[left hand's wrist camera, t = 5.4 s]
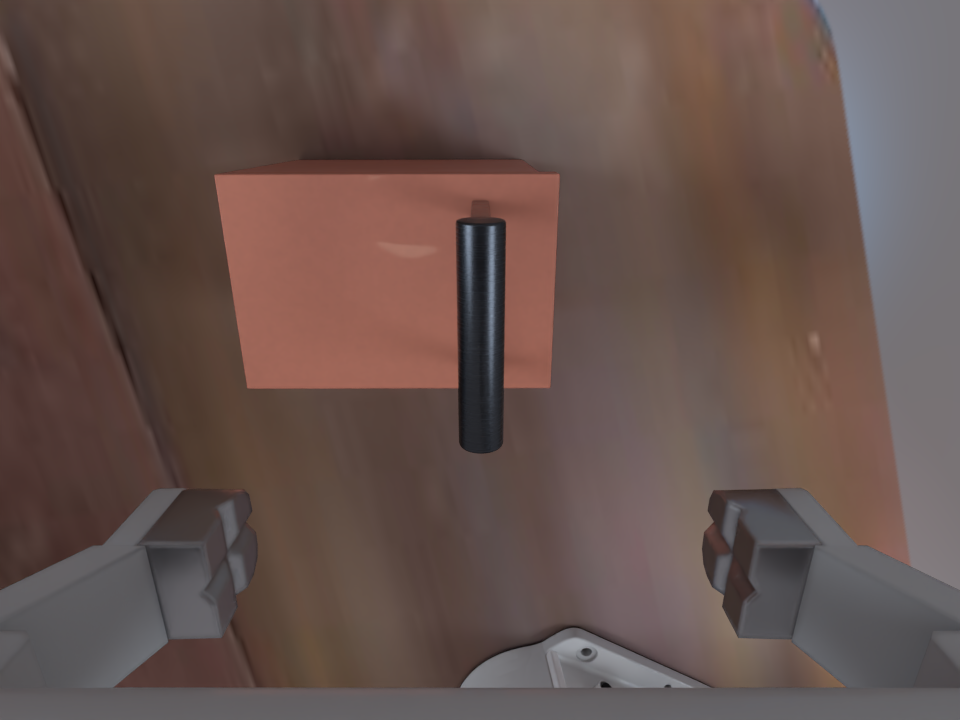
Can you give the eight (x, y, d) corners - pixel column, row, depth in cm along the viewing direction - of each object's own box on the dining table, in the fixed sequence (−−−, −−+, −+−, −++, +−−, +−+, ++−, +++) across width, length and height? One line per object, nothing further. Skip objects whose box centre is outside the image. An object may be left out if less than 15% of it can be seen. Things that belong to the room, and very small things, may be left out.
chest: (522, 159, 35) (539, 171, 25) (518, 313, 39) (532, 377, 29) (297, 159, 35) (226, 172, 25) (314, 313, 39) (256, 377, 29)
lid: (556, 171, 25) (593, 192, 17) (547, 377, 29) (574, 476, 21) (225, 172, 25) (105, 193, 17) (256, 378, 29) (168, 477, 21)
